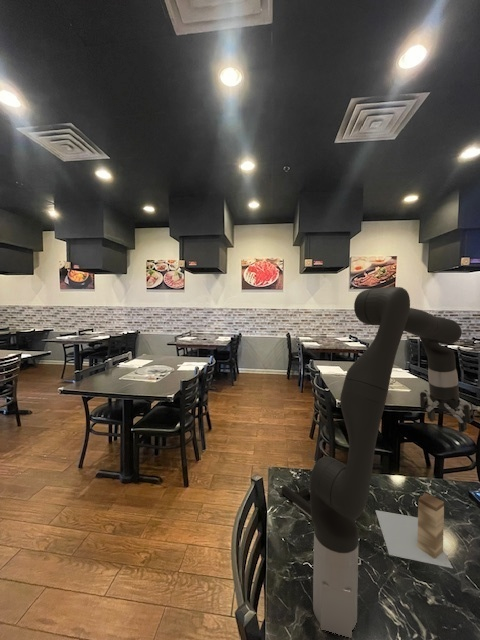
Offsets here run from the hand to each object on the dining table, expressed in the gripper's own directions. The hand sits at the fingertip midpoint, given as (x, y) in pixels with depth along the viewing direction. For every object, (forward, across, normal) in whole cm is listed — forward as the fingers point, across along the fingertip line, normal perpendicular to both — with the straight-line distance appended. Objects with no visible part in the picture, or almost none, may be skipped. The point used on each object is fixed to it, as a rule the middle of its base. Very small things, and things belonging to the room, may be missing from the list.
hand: (446, 425), depth 91 cm
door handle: (+21, -23, -41) cm, 52 cm away
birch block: (+22, +7, -27) cm, 35 cm away
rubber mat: (+23, +1, -27) cm, 36 cm away
